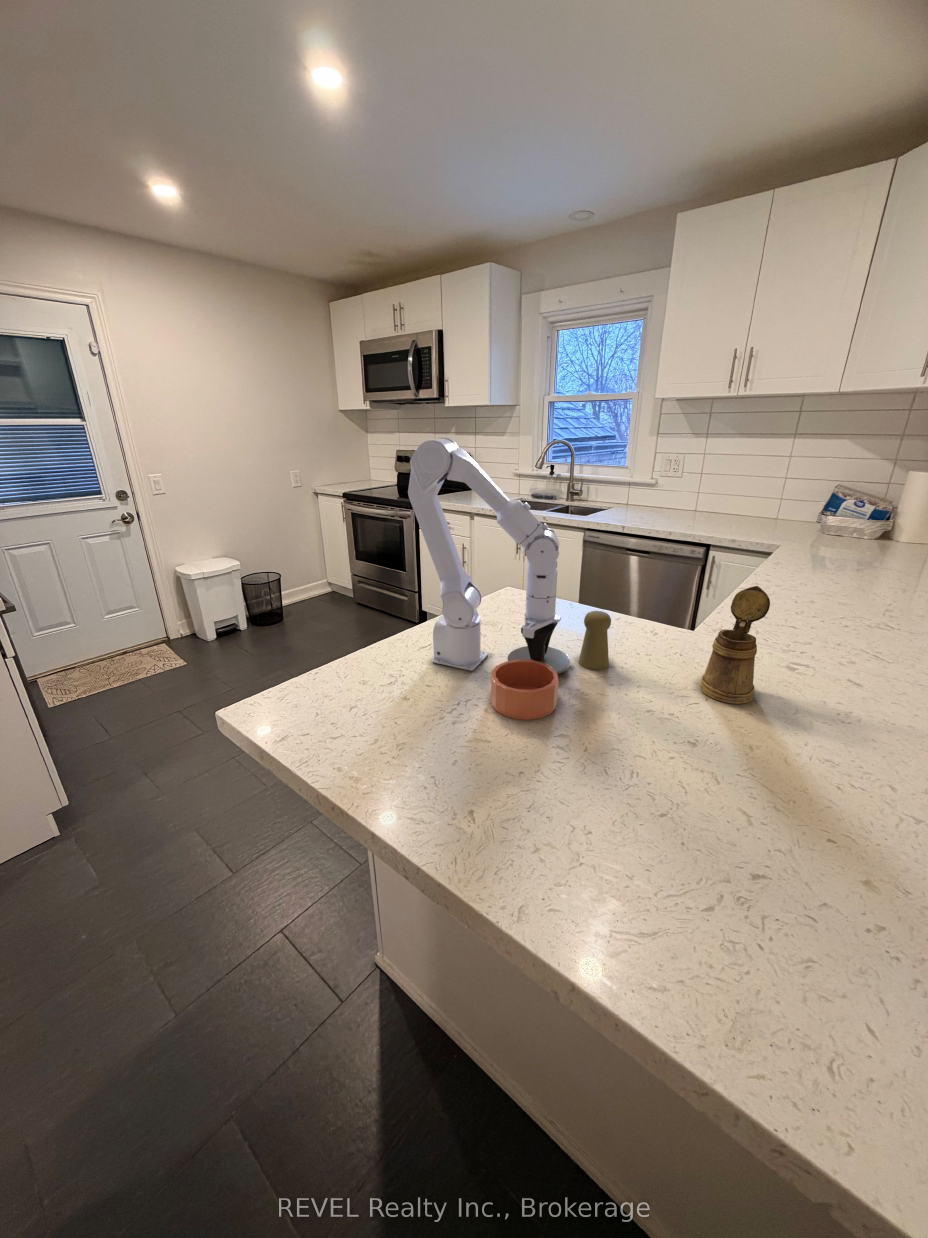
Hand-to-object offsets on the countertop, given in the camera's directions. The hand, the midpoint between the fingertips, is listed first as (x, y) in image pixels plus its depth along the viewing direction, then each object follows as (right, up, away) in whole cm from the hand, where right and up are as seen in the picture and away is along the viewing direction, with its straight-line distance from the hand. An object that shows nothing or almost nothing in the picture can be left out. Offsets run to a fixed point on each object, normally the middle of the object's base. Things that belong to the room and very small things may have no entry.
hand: (538, 656), depth 100 cm
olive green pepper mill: (+12, -2, +2) cm, 12 cm away
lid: (0, -1, 0) cm, 1 cm away
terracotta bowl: (-4, -7, -12) cm, 14 cm away
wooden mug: (+34, -5, -8) cm, 36 cm away
